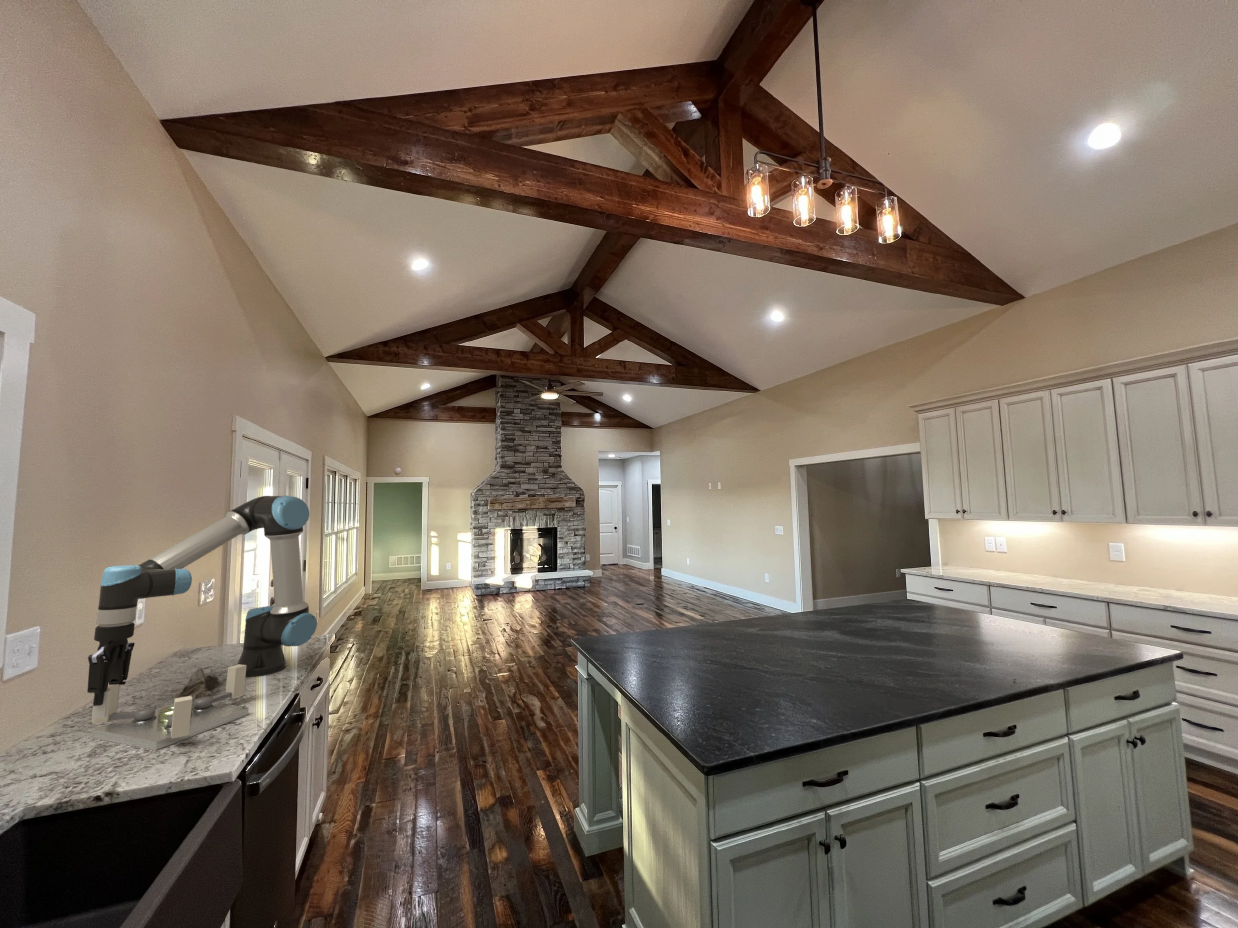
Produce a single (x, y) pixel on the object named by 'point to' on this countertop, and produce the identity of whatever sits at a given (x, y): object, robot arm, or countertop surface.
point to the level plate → (157, 731)
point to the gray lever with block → (232, 687)
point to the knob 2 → (180, 717)
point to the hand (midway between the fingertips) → (104, 714)
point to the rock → (199, 685)
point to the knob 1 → (112, 715)
